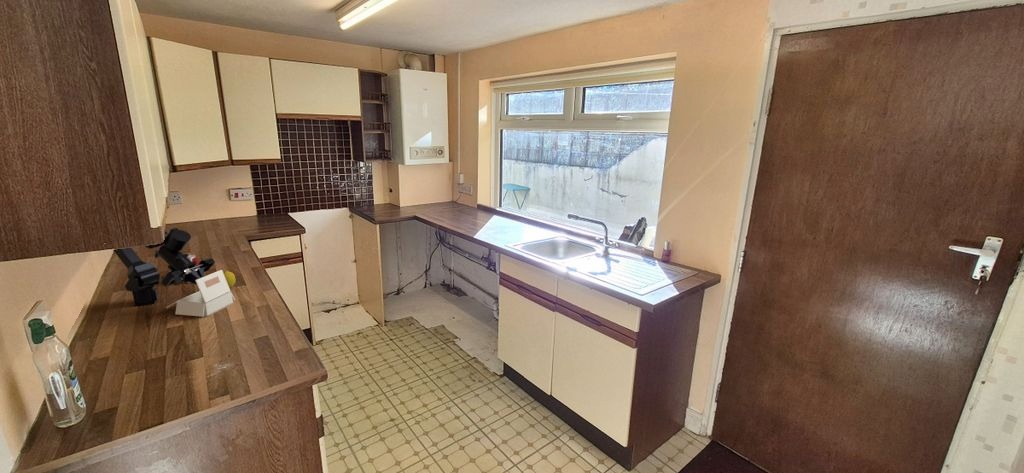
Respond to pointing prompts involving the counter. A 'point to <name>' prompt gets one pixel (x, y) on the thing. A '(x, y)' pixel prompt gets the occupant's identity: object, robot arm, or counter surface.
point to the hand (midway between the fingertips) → (206, 287)
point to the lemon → (229, 278)
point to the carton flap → (212, 286)
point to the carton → (202, 304)
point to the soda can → (192, 259)
